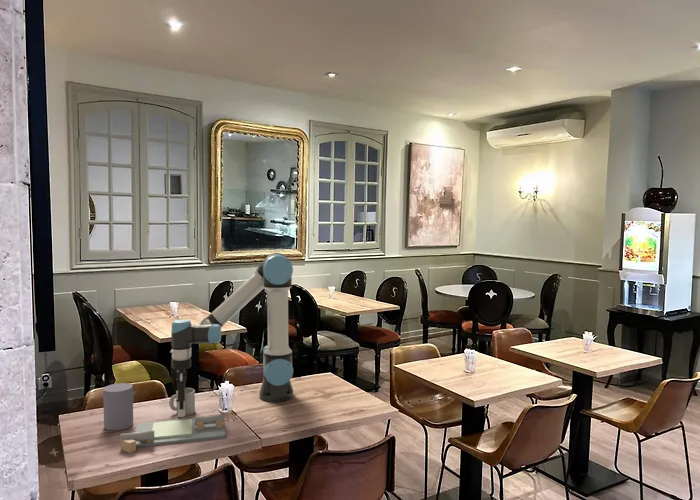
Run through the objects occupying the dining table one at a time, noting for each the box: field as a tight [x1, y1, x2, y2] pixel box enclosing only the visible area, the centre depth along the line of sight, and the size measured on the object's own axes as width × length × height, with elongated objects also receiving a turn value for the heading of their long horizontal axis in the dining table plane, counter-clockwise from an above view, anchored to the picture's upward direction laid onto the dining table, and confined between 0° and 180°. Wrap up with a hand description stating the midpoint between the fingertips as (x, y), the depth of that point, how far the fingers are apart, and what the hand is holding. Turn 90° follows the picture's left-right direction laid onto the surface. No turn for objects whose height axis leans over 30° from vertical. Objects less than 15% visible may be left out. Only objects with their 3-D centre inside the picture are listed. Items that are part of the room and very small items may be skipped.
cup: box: [168, 387, 196, 416], centre depth 218 cm, size 7×10×9 cm
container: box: [102, 382, 134, 432], centre depth 204 cm, size 10×10×15 cm
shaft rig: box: [119, 414, 227, 454], centre depth 197 cm, size 36×24×5 cm
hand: (182, 412), depth 219 cm, fingers open, 9 cm apart
